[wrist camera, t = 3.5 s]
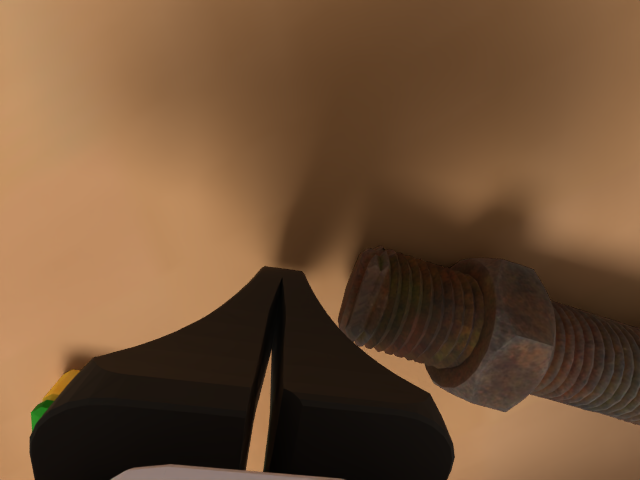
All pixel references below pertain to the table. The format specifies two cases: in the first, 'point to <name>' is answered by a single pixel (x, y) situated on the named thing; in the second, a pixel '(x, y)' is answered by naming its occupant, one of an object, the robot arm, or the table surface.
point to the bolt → (492, 333)
